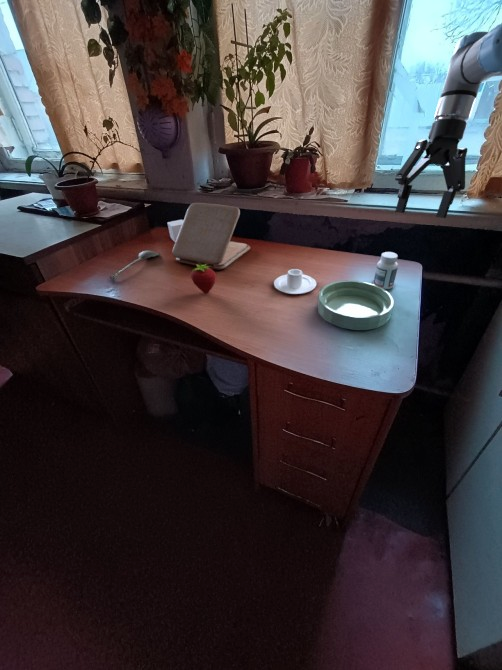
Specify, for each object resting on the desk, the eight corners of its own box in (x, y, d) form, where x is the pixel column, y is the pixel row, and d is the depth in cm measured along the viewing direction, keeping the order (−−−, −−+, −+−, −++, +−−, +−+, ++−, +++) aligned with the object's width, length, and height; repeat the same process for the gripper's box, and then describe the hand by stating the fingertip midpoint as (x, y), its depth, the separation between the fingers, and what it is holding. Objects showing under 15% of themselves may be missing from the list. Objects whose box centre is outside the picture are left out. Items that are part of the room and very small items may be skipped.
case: (171, 262, 106) (160, 214, 96) (207, 241, 120) (201, 197, 110) (220, 273, 97) (214, 221, 87) (253, 249, 111) (251, 202, 102)
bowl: (400, 306, 78) (404, 292, 75) (372, 341, 68) (376, 326, 65) (337, 287, 87) (339, 274, 84) (304, 315, 77) (305, 302, 74)
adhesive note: (189, 238, 123) (186, 223, 119) (174, 242, 121) (171, 226, 117) (184, 234, 127) (181, 219, 124) (170, 237, 125) (167, 222, 122)
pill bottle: (390, 280, 89) (397, 250, 83) (395, 289, 84) (403, 258, 79) (371, 280, 89) (377, 250, 84) (375, 289, 85) (381, 259, 80)
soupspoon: (164, 256, 112) (149, 255, 114) (161, 247, 110) (147, 246, 112) (119, 282, 95) (104, 280, 98) (116, 272, 94) (100, 270, 96)
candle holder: (293, 272, 96) (293, 258, 93) (324, 284, 88) (326, 270, 86) (265, 286, 90) (264, 272, 87) (296, 301, 82) (297, 286, 80)
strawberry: (208, 302, 84) (202, 268, 78) (189, 294, 88) (182, 261, 82) (222, 292, 88) (218, 259, 82) (203, 285, 92) (198, 253, 85)
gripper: (476, 132, 81) (446, 218, 90) (396, 114, 75) (372, 209, 83) (503, 128, 75) (468, 220, 84) (419, 107, 68) (390, 211, 77)
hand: (420, 215), depth 83 cm, fingers open, 13 cm apart
